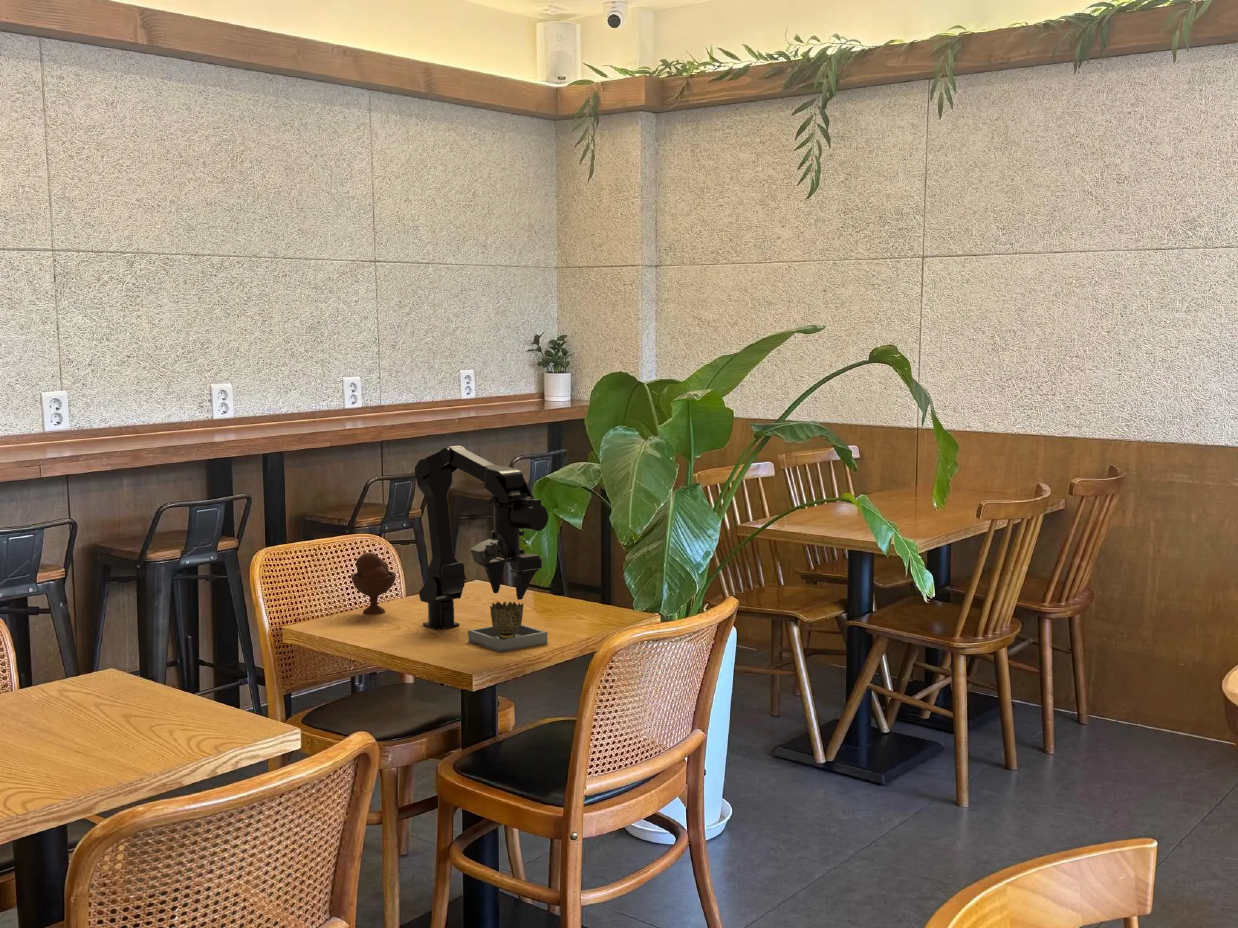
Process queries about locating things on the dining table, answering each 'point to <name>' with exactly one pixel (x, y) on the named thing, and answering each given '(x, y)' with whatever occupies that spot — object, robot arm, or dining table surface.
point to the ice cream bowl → (372, 580)
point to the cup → (506, 618)
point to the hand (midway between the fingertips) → (507, 596)
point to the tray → (521, 640)
